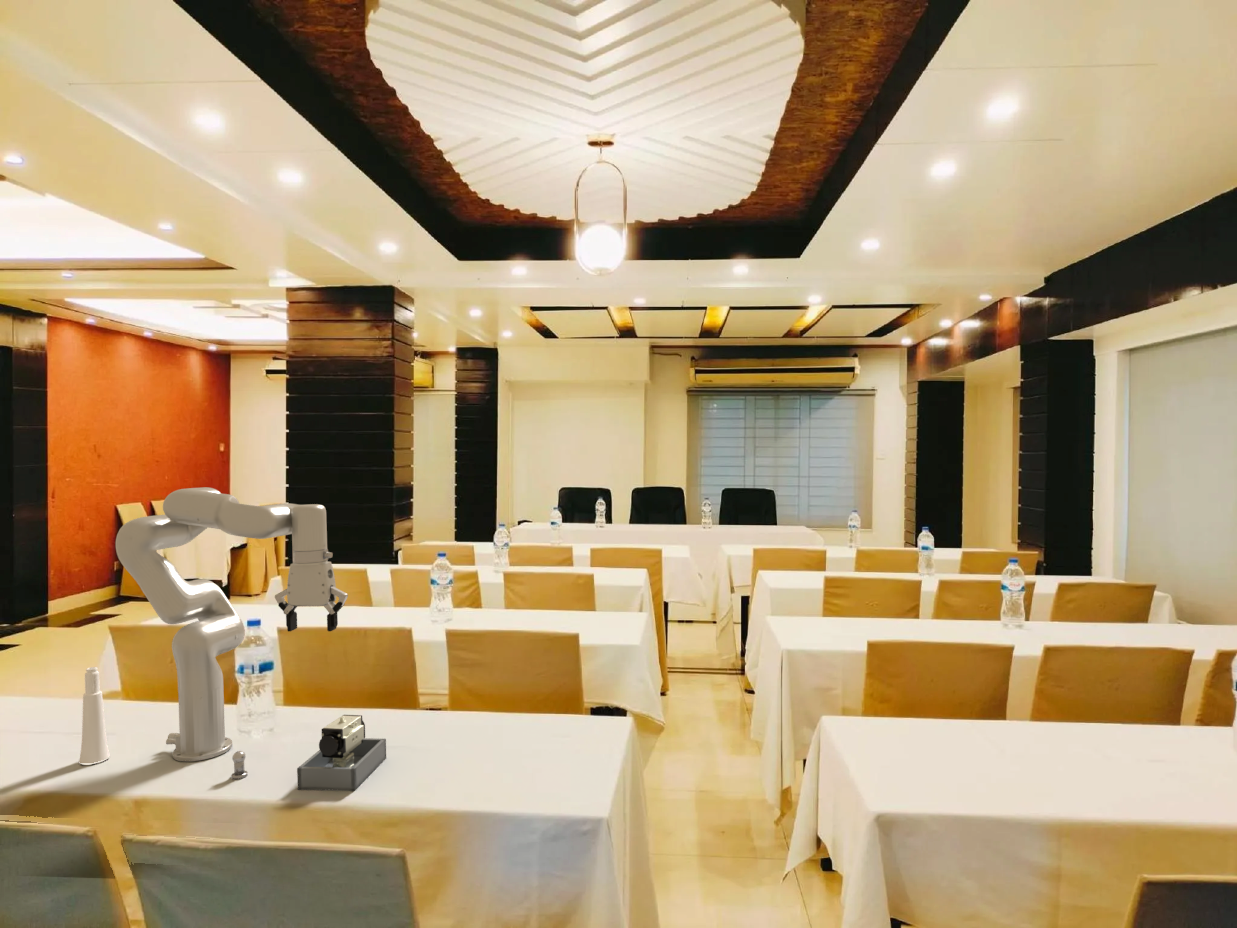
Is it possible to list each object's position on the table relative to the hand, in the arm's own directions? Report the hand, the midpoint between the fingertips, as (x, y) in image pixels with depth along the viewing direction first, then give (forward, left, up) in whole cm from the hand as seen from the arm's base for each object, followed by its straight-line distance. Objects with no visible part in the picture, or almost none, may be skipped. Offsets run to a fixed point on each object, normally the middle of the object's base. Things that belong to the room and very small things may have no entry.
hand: (312, 630), depth 172 cm
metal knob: (-12, -10, -30) cm, 34 cm away
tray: (+10, -7, -30) cm, 33 cm away
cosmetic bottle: (-53, -3, -31) cm, 61 cm away
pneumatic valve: (+11, -7, -30) cm, 33 cm away
